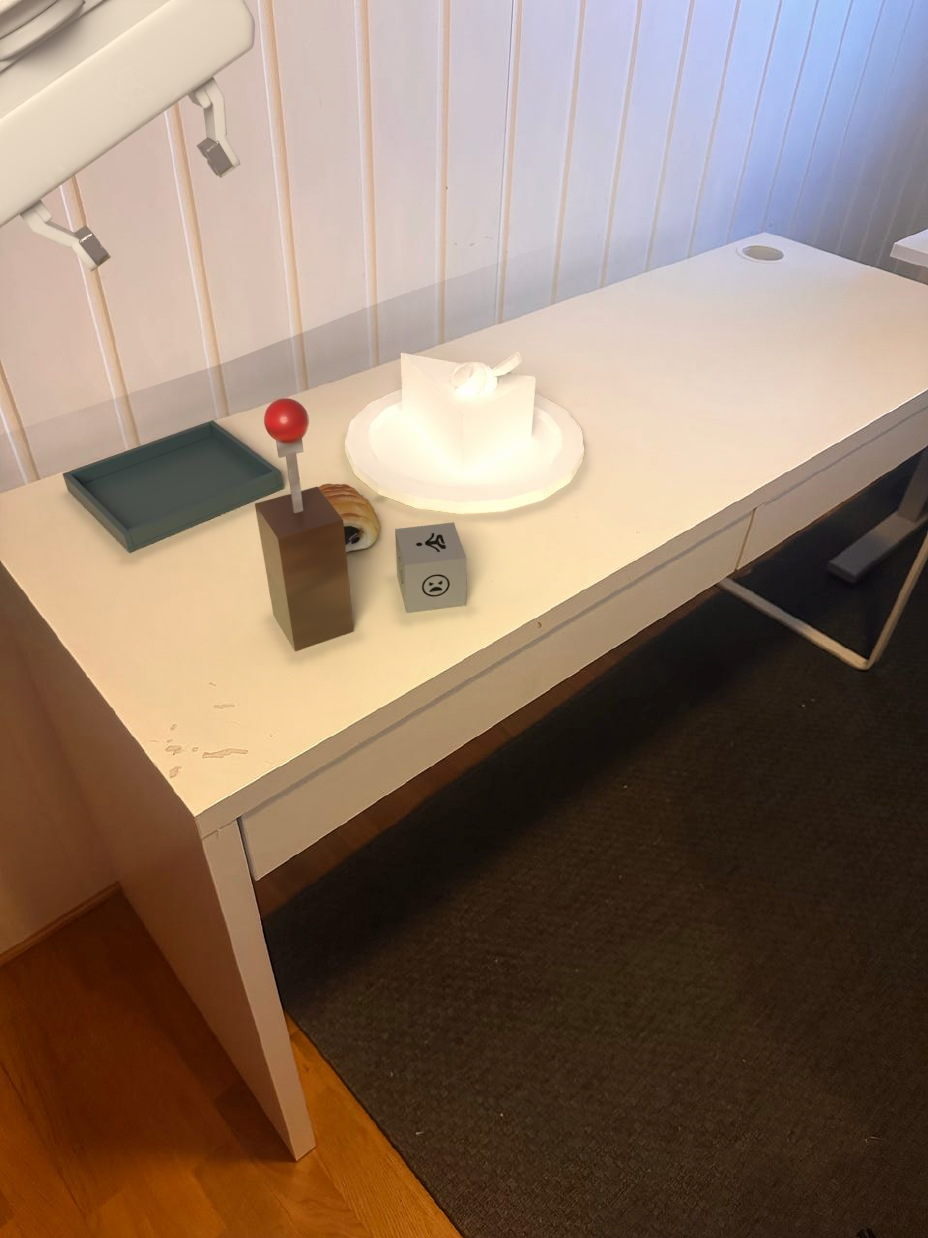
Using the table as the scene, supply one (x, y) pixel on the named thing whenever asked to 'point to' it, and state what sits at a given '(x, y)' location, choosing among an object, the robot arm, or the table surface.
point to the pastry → (353, 515)
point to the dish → (464, 439)
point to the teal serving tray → (172, 484)
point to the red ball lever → (303, 544)
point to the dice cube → (431, 567)
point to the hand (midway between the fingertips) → (164, 215)
